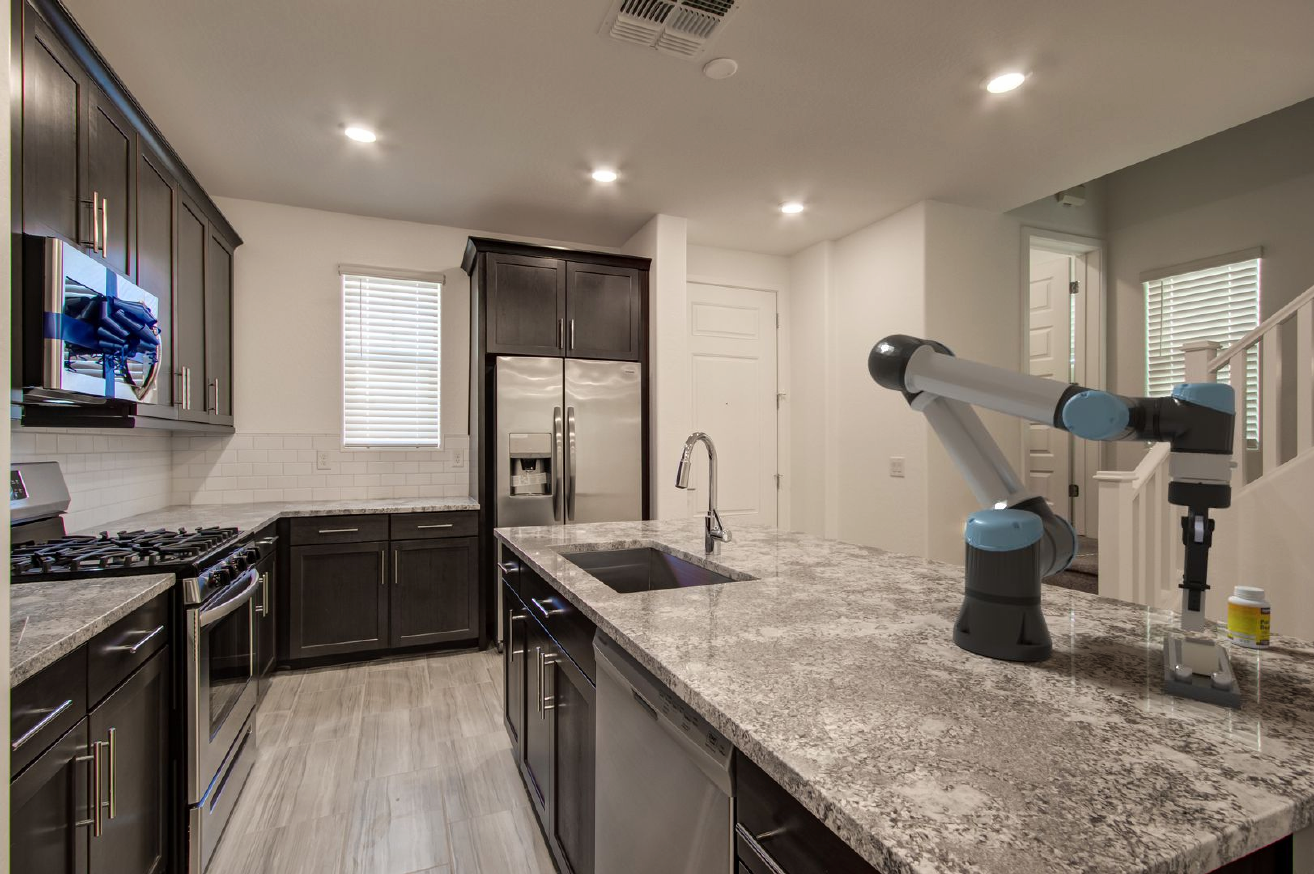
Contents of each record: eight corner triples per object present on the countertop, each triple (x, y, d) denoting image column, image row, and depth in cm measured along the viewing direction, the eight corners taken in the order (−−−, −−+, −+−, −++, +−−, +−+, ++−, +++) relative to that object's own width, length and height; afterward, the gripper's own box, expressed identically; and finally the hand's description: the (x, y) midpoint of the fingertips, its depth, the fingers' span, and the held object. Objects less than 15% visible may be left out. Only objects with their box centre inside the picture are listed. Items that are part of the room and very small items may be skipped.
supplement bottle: (1264, 651, 109) (1265, 593, 109) (1222, 642, 113) (1223, 586, 113) (1273, 646, 112) (1274, 589, 112) (1232, 638, 116) (1233, 583, 117)
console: (1164, 693, 89) (1165, 665, 89) (1163, 648, 109) (1163, 625, 109) (1241, 709, 84) (1241, 679, 84) (1224, 659, 104) (1225, 635, 104)
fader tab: (1182, 670, 92) (1182, 638, 92) (1181, 664, 94) (1181, 634, 94) (1218, 676, 90) (1218, 644, 90) (1216, 671, 92) (1217, 640, 92)
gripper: (1235, 485, 91) (1227, 646, 91) (1228, 481, 101) (1220, 626, 101) (1169, 481, 96) (1161, 634, 96) (1168, 477, 106) (1161, 616, 106)
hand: (1192, 629), depth 99 cm, fingers closed
